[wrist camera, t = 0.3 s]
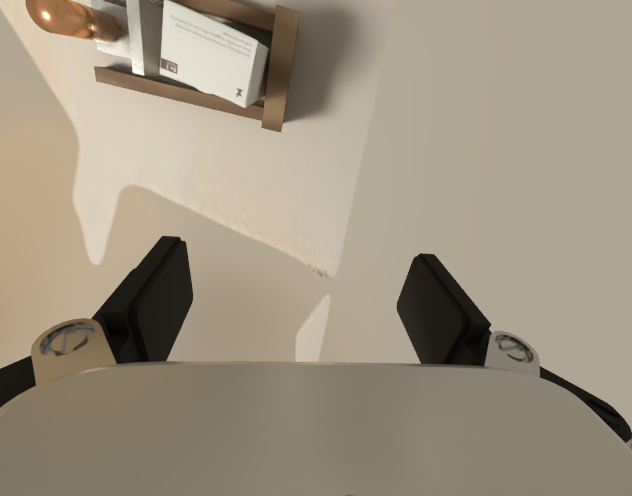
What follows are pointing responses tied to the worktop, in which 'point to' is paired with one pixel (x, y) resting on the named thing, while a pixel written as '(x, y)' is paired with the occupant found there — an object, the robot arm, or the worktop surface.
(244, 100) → the skincare box
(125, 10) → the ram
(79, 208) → the worktop surface
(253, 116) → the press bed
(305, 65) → the worktop surface
